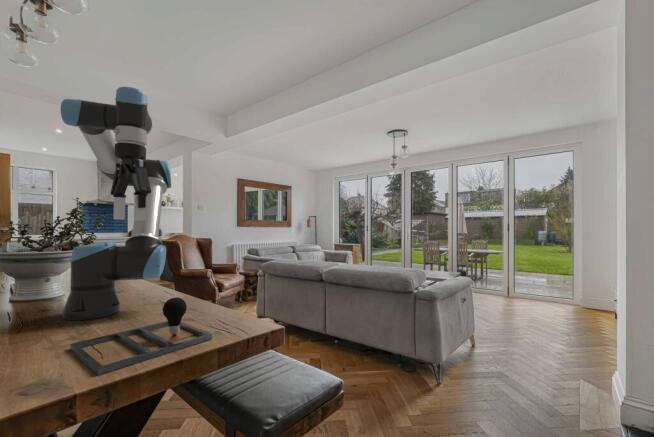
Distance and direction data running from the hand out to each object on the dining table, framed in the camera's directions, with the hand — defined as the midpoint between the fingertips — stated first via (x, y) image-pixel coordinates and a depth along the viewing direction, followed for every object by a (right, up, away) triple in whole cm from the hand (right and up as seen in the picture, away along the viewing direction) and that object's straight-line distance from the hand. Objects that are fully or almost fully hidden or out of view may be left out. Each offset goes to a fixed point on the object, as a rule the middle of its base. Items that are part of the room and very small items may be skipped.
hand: (129, 220), depth 86 cm
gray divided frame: (+10, -31, -9) cm, 34 cm away
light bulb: (+15, -31, -4) cm, 35 cm away
